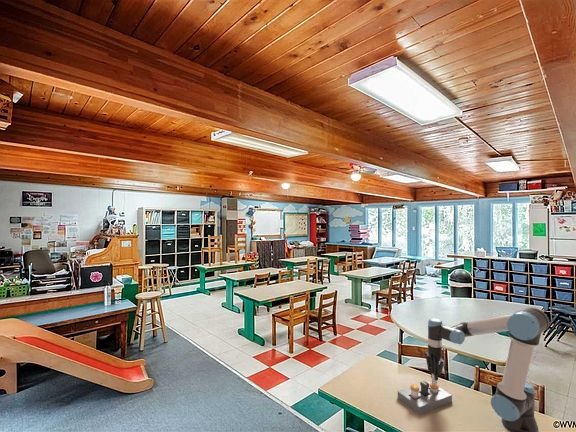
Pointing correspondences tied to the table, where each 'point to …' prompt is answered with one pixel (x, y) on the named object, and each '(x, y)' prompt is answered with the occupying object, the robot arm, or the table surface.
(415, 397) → the knob near
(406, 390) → the panel
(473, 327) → the robot arm
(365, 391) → the table surface
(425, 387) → the dial
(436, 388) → the knob far
